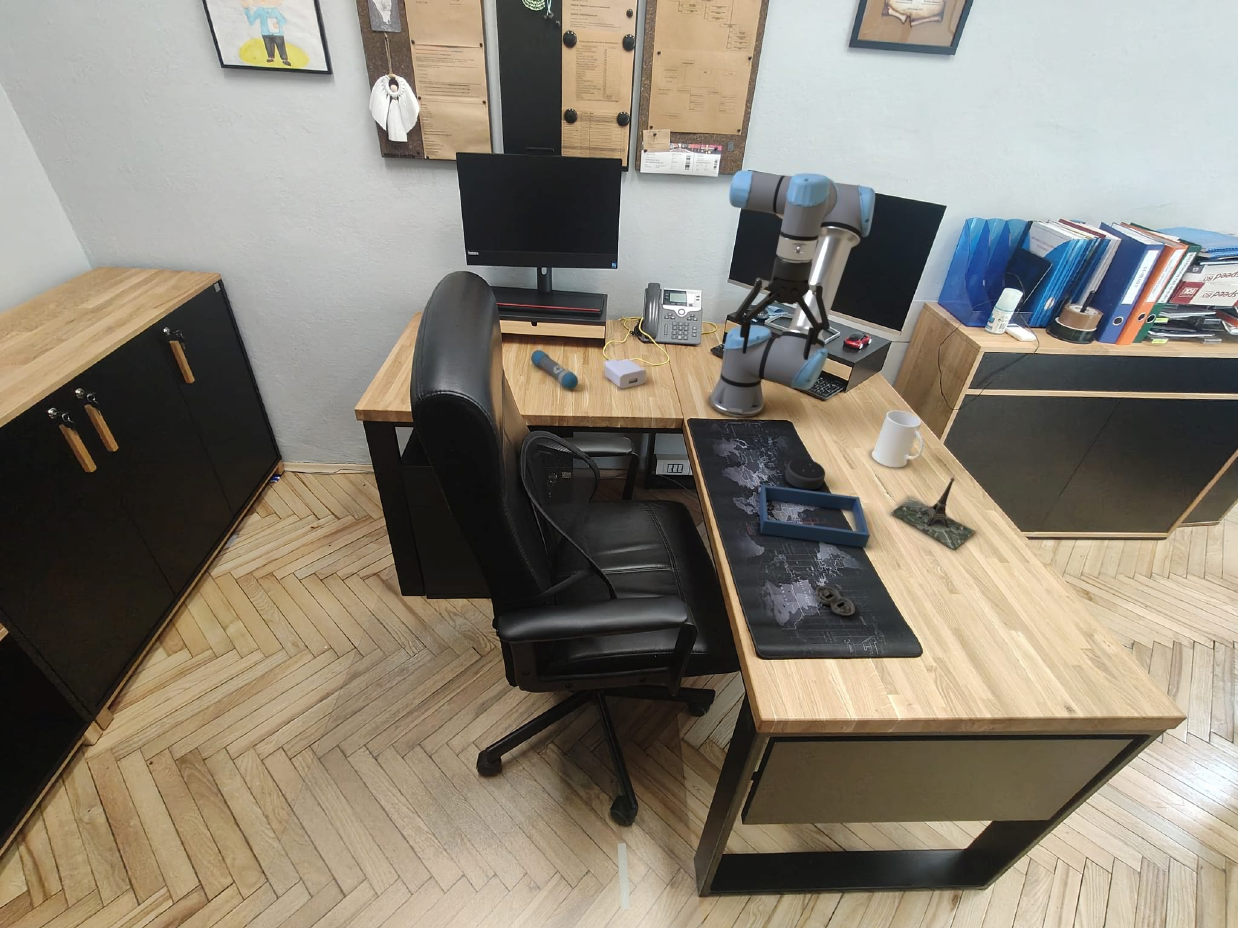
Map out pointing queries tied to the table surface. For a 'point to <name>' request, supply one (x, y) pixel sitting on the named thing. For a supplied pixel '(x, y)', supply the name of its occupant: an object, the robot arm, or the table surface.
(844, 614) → the corroded twin loop
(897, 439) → the mug
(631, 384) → the charger
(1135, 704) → the table surface
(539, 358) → the grey and blue rod
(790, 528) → the rectangular frame
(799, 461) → the smart speaker
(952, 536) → the eiffel tower figurine
